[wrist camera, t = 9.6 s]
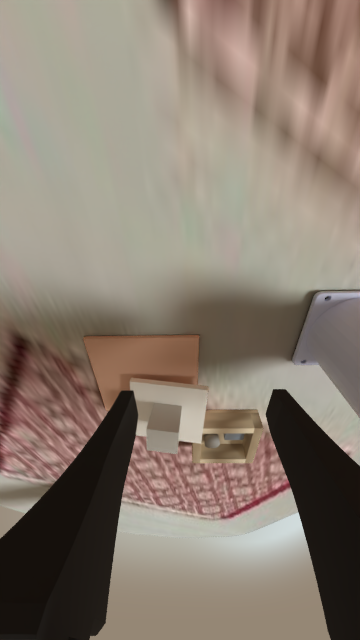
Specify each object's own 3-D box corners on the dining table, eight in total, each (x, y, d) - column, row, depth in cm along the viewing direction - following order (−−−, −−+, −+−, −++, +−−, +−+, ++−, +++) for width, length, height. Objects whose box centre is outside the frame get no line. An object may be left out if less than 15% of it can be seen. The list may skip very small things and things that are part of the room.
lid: (208, 380, 23) (208, 417, 19) (201, 432, 26) (200, 473, 22) (133, 372, 23) (118, 405, 19) (136, 424, 27) (123, 462, 23)
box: (257, 409, 27) (263, 428, 25) (247, 444, 31) (252, 463, 29) (192, 410, 27) (193, 428, 25) (191, 444, 31) (192, 463, 29)
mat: (198, 334, 21) (199, 337, 20) (196, 407, 27) (196, 410, 26) (84, 336, 21) (83, 338, 21) (107, 408, 27) (106, 410, 26)
